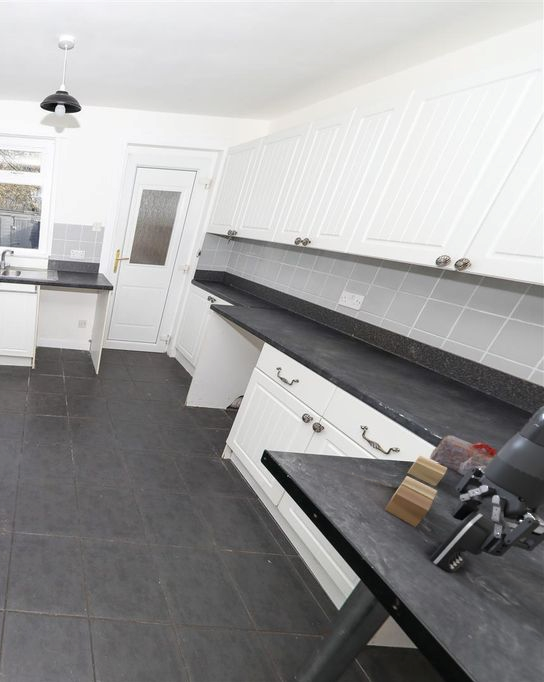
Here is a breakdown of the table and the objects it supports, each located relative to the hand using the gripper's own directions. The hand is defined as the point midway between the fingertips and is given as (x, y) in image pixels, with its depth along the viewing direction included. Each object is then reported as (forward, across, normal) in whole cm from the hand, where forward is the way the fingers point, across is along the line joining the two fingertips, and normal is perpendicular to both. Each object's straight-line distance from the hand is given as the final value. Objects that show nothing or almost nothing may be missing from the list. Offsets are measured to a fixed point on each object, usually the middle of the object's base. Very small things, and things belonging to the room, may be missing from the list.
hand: (472, 534), depth 61 cm
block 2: (+8, +16, -1) cm, 18 cm away
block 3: (+8, +11, +2) cm, 14 cm away
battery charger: (+8, 0, 0) cm, 8 cm away
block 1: (+8, +29, -9) cm, 32 cm away
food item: (+8, +39, -22) cm, 45 cm away
